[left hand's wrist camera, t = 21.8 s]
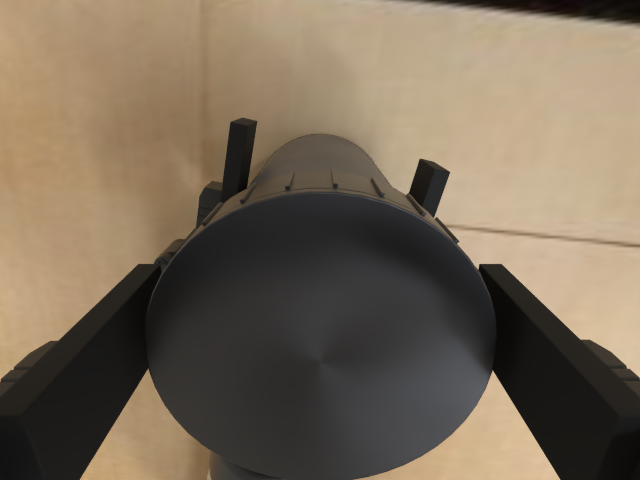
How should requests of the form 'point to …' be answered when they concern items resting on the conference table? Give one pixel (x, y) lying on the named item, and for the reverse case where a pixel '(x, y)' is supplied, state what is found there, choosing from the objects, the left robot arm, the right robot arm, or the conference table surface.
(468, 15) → the conference table surface
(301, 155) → the jar
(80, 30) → the conference table surface
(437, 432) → the lid
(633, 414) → the left robot arm
